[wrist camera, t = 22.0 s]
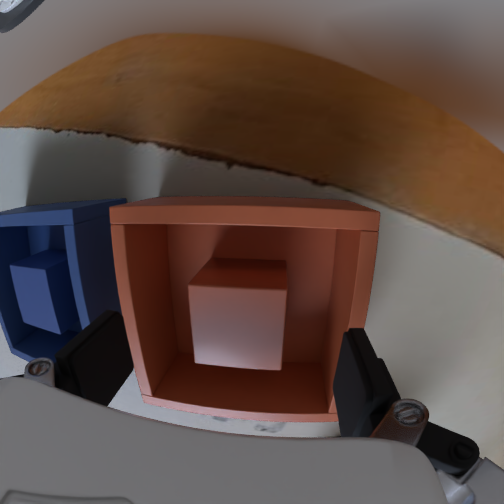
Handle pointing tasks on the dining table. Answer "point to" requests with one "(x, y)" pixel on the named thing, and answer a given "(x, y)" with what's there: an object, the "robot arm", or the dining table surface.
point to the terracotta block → (239, 313)
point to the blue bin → (79, 259)
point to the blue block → (45, 290)
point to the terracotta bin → (243, 247)
